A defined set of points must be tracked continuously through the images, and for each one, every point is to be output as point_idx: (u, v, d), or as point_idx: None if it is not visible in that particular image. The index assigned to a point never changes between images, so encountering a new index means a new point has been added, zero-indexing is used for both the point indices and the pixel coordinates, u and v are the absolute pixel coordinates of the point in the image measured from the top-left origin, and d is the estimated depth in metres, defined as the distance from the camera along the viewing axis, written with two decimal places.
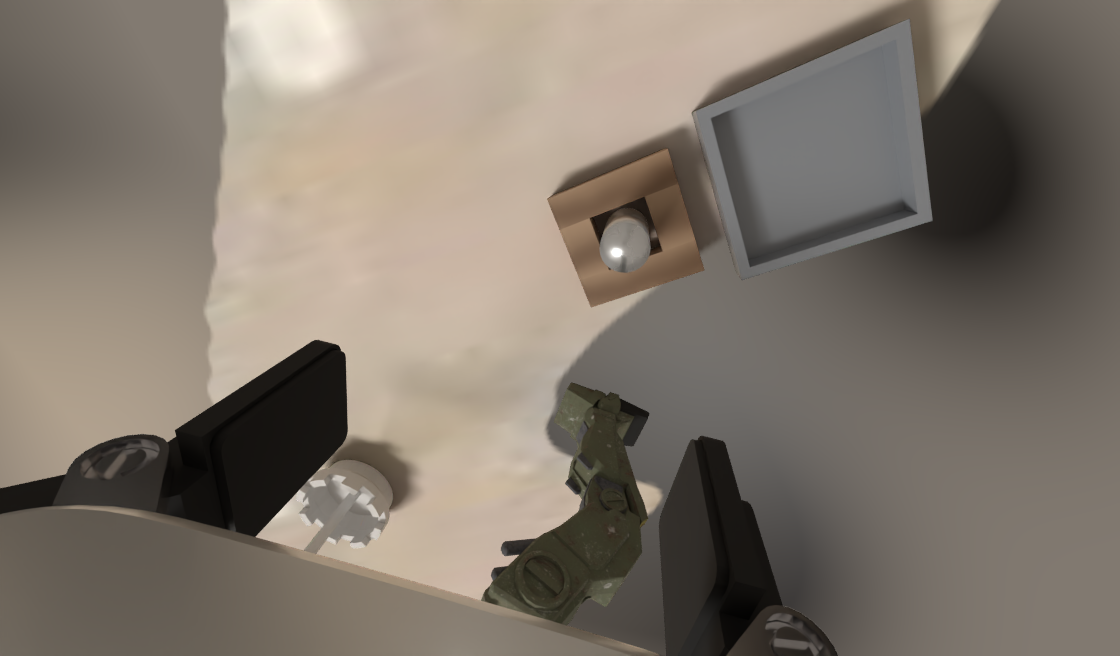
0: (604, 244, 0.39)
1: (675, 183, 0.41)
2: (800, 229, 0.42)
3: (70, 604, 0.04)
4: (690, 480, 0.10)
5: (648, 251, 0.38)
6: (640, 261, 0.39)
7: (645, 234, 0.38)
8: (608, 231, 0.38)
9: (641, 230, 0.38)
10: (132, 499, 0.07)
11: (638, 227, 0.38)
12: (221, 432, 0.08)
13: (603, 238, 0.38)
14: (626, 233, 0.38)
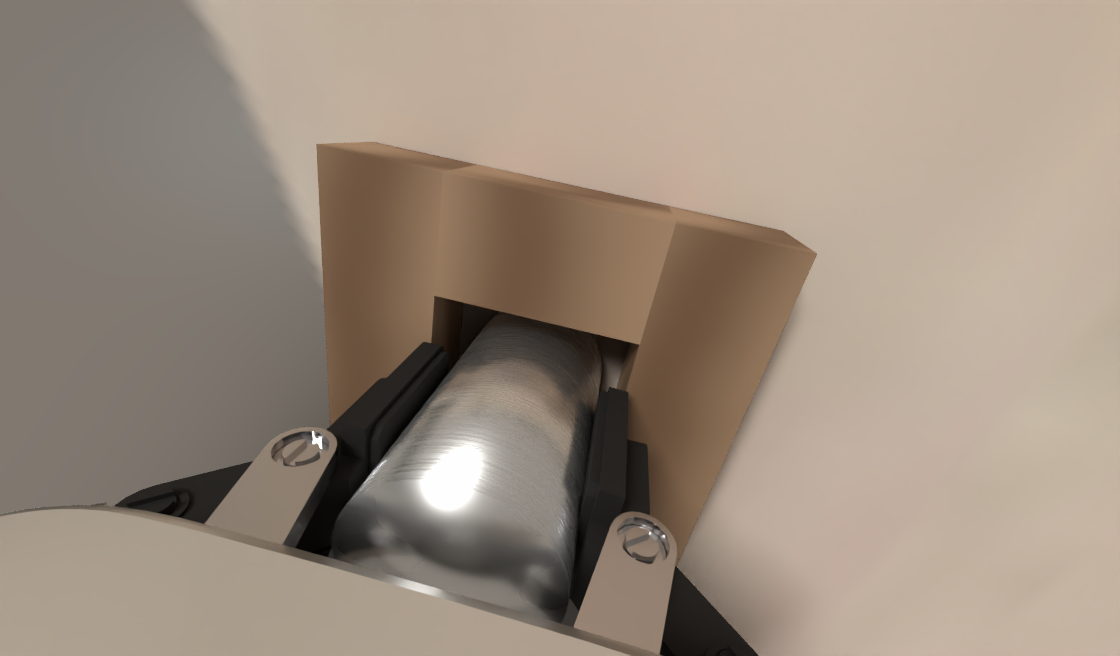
0: (510, 533, 0.07)
1: None
2: None
3: (70, 604, 0.04)
4: (594, 424, 0.11)
5: None
6: None
7: None
8: (557, 575, 0.07)
9: None
10: (291, 492, 0.07)
11: None
12: (376, 425, 0.09)
13: (538, 544, 0.07)
14: None
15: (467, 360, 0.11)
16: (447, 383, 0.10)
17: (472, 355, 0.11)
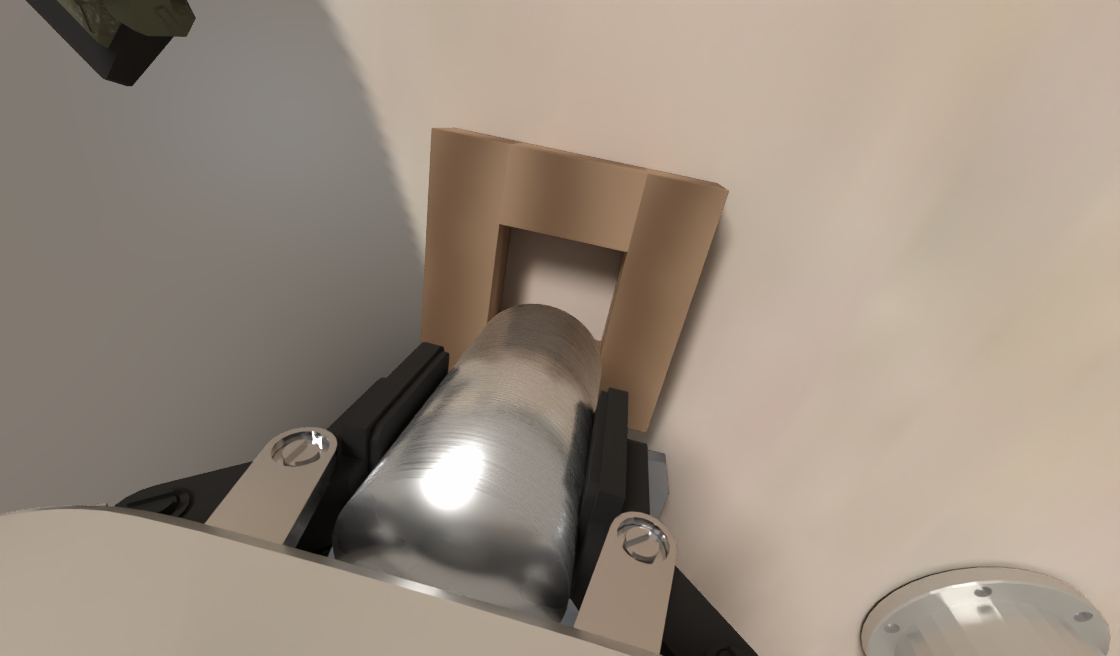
0: (510, 532, 0.07)
1: None
2: None
3: (70, 604, 0.04)
4: (594, 424, 0.11)
5: None
6: None
7: None
8: (557, 574, 0.07)
9: None
10: (290, 492, 0.07)
11: None
12: (376, 425, 0.09)
13: (539, 543, 0.07)
14: None
15: (467, 360, 0.11)
16: (447, 382, 0.10)
17: (472, 355, 0.11)
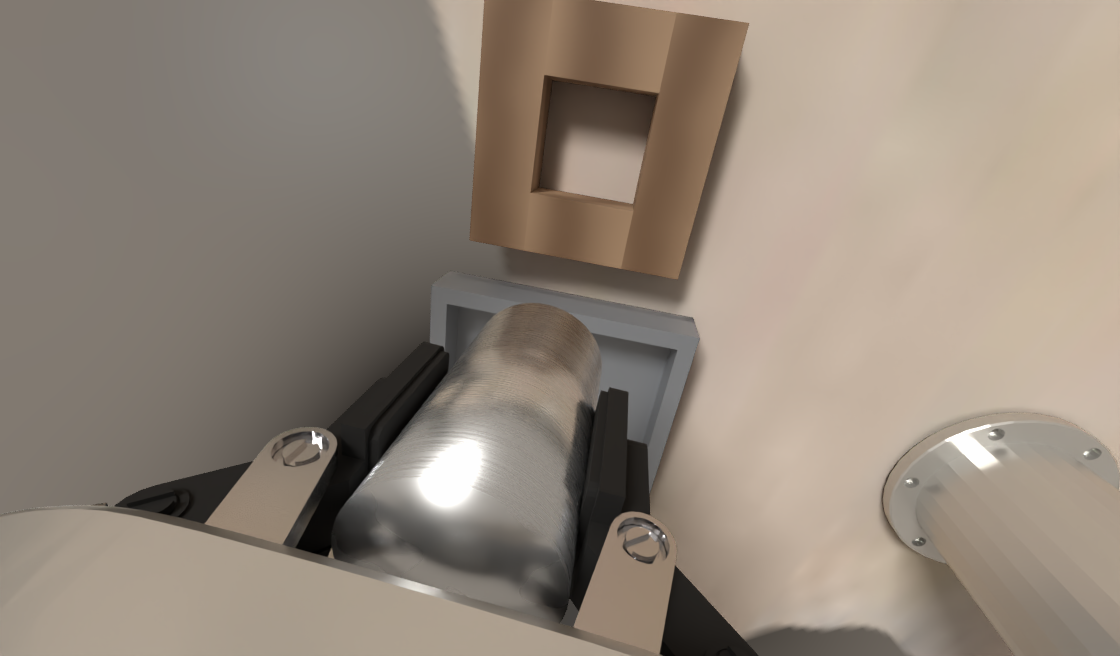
0: (510, 531, 0.07)
1: (623, 265, 0.25)
2: None
3: (69, 604, 0.04)
4: (594, 424, 0.11)
5: None
6: None
7: None
8: (557, 574, 0.07)
9: None
10: (291, 492, 0.07)
11: None
12: (376, 425, 0.09)
13: (539, 542, 0.07)
14: None
15: (467, 359, 0.11)
16: (447, 382, 0.10)
17: (472, 354, 0.11)
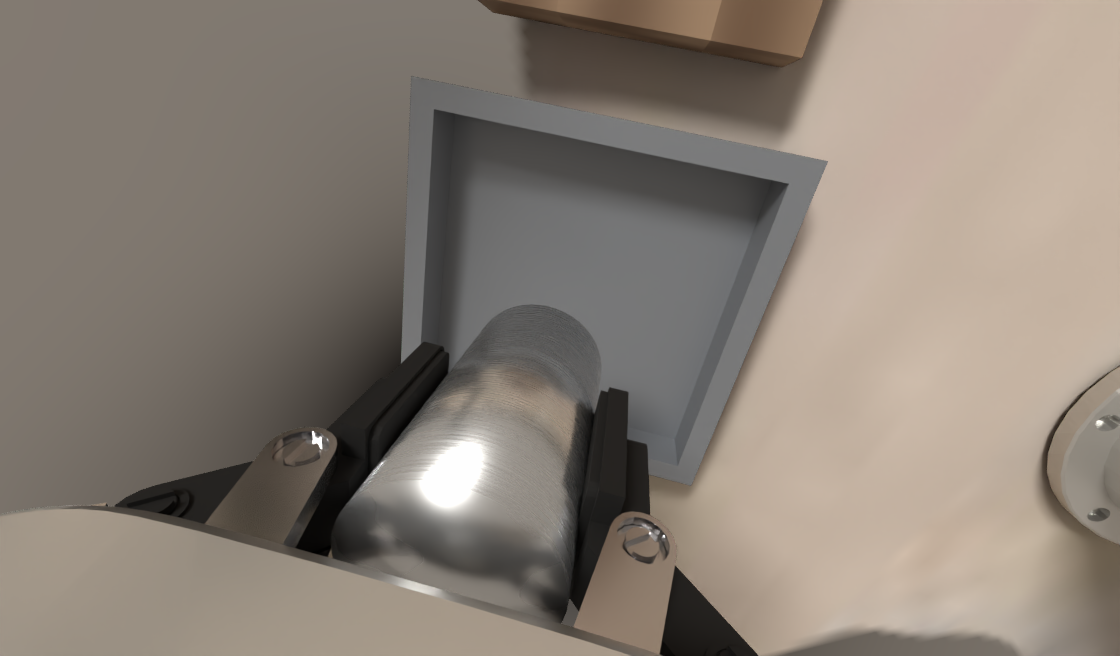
0: (510, 534, 0.07)
1: (715, 33, 0.15)
2: (470, 238, 0.22)
3: (70, 604, 0.04)
4: (594, 424, 0.11)
5: None
6: None
7: None
8: (556, 576, 0.07)
9: None
10: (290, 492, 0.07)
11: None
12: (376, 425, 0.09)
13: (538, 545, 0.07)
14: None
15: (467, 360, 0.11)
16: (447, 383, 0.10)
17: (472, 355, 0.11)
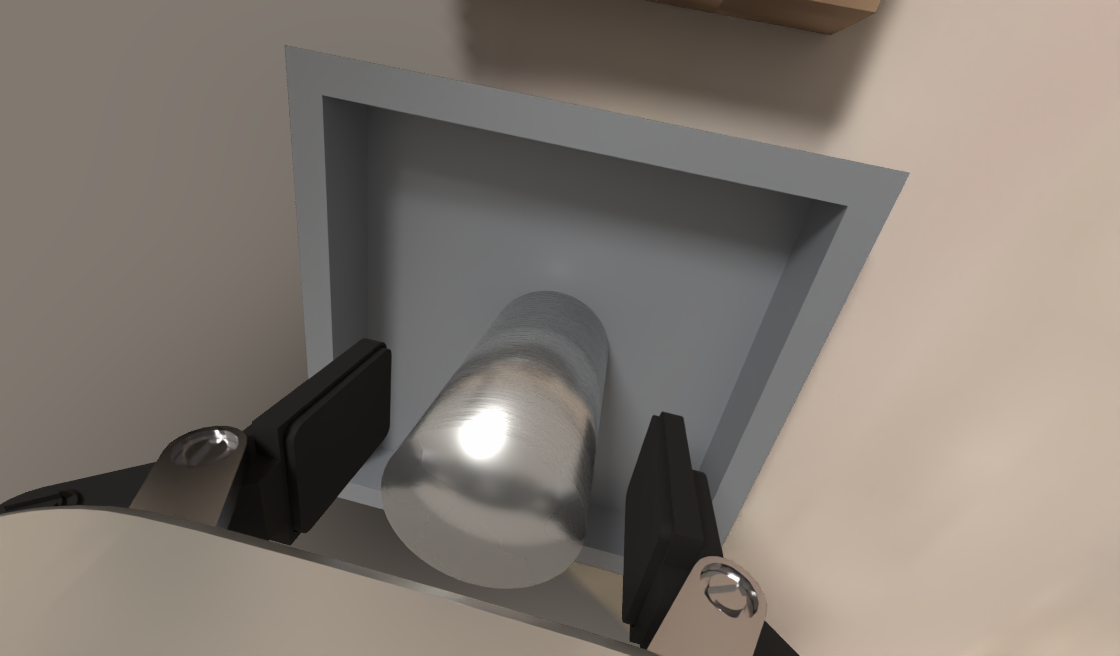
0: (537, 472, 0.08)
1: None
2: (400, 273, 0.16)
3: (70, 604, 0.04)
4: (649, 452, 0.11)
5: (431, 561, 0.10)
6: (407, 525, 0.10)
7: (493, 584, 0.10)
8: (576, 510, 0.09)
9: (513, 584, 0.10)
10: (206, 490, 0.07)
11: (528, 582, 0.10)
12: (293, 423, 0.09)
13: (561, 482, 0.08)
14: (530, 548, 0.09)
15: (489, 338, 0.13)
16: (473, 356, 0.12)
17: (494, 333, 0.13)
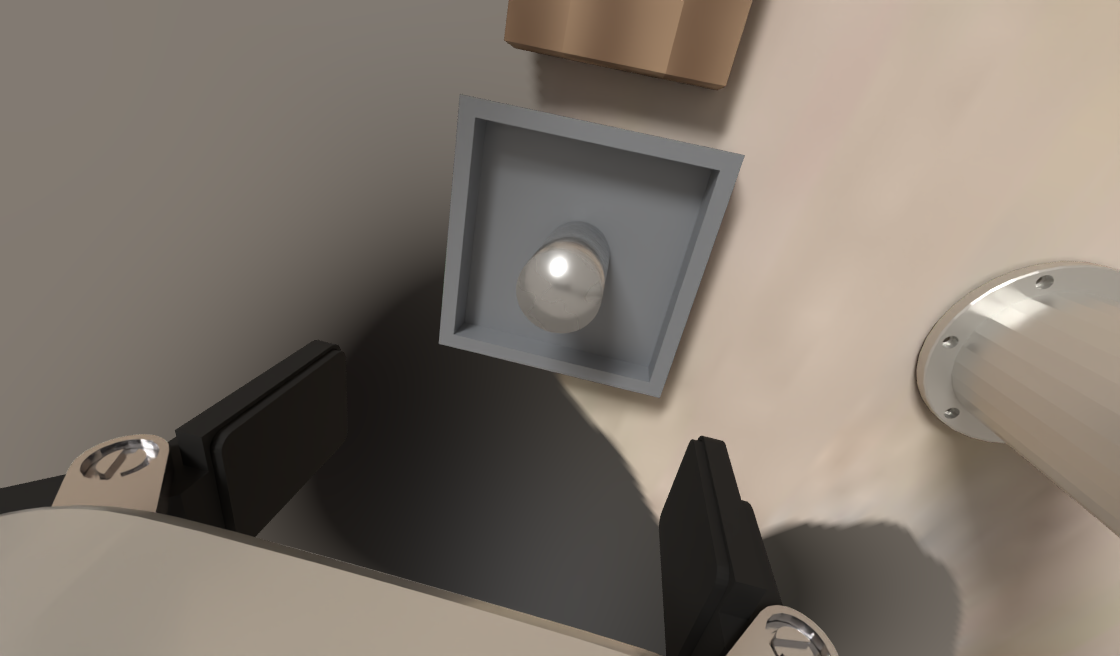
0: (583, 270, 0.22)
1: (668, 69, 0.23)
2: (495, 212, 0.29)
3: (70, 604, 0.04)
4: (690, 480, 0.10)
5: (534, 321, 0.23)
6: (525, 302, 0.23)
7: (561, 331, 0.23)
8: (598, 287, 0.22)
9: (570, 330, 0.23)
10: (132, 499, 0.07)
11: (576, 328, 0.23)
12: (221, 432, 0.08)
13: (592, 273, 0.22)
14: (578, 309, 0.22)
15: (552, 236, 0.26)
16: (547, 241, 0.25)
17: (554, 235, 0.26)
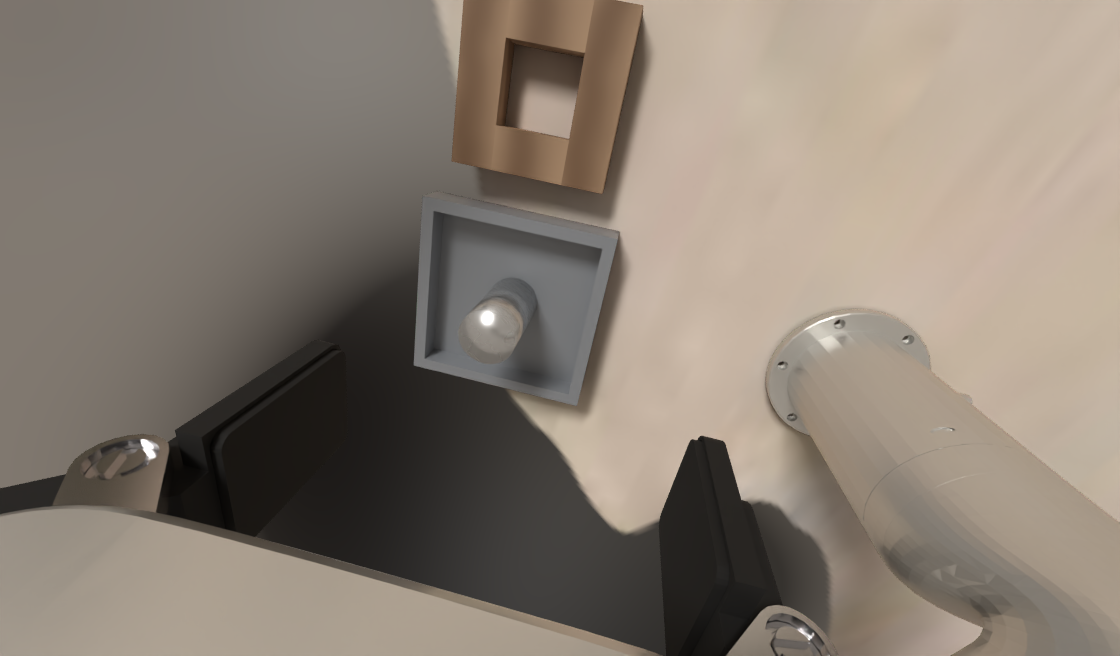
0: (500, 323, 0.32)
1: (562, 182, 0.34)
2: (453, 270, 0.40)
3: (70, 604, 0.04)
4: (690, 480, 0.10)
5: (472, 356, 0.34)
6: (465, 344, 0.34)
7: (490, 363, 0.34)
8: (511, 334, 0.33)
9: (496, 362, 0.34)
10: (132, 499, 0.07)
11: (500, 361, 0.34)
12: (221, 432, 0.08)
13: (507, 325, 0.32)
14: (500, 348, 0.33)
15: (488, 293, 0.36)
16: (483, 298, 0.36)
17: (490, 292, 0.37)
